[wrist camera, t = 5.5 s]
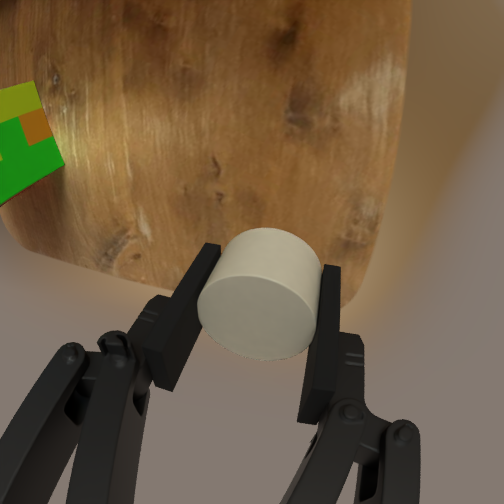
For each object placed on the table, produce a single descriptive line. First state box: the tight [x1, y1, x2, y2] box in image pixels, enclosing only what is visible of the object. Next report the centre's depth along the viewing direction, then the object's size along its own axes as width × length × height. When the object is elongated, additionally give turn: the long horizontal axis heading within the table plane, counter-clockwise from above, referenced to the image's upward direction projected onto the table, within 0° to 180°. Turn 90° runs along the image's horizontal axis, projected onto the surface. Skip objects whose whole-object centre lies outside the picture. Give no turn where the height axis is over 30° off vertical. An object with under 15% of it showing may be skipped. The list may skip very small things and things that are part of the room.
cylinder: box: [197, 228, 322, 361], centre depth 14 cm, size 5×5×4 cm
